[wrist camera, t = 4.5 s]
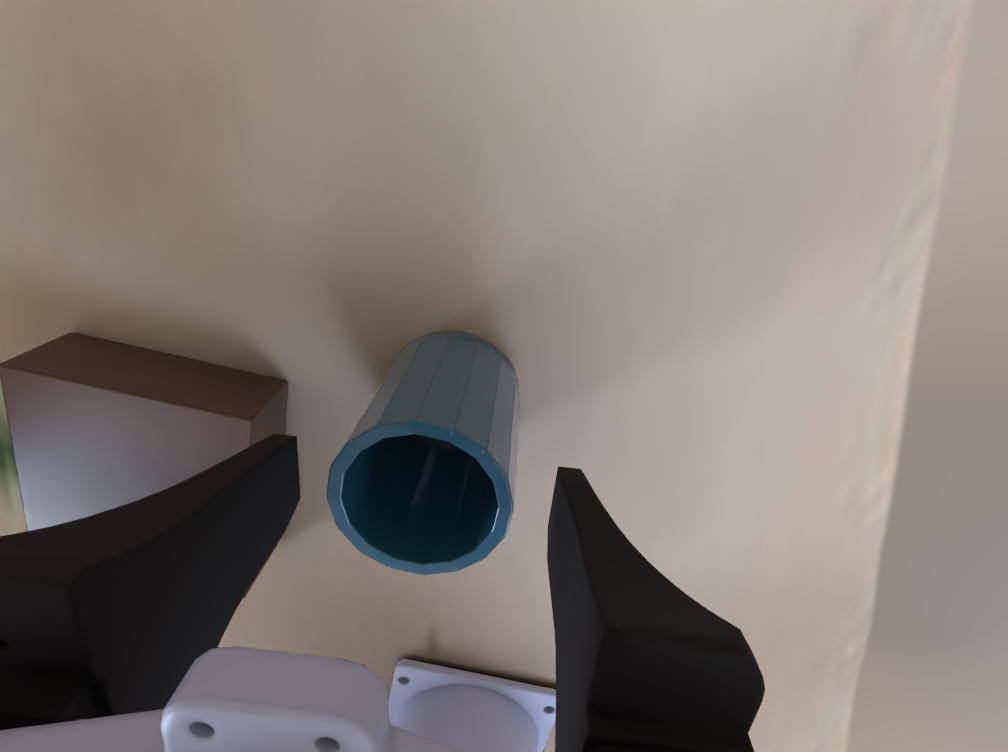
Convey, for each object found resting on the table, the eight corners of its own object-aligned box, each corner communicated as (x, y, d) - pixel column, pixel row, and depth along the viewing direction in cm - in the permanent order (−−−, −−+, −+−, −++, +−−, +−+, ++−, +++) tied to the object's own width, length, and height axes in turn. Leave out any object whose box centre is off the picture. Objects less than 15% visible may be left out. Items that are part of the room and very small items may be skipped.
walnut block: (277, 545, 24) (244, 600, 21) (89, 505, 23) (30, 556, 21) (289, 380, 20) (250, 420, 18) (70, 331, 20) (-4, 363, 17)
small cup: (502, 461, 21) (490, 589, 15) (380, 433, 21) (319, 553, 15) (533, 348, 19) (532, 446, 13) (398, 317, 19) (336, 402, 13)
